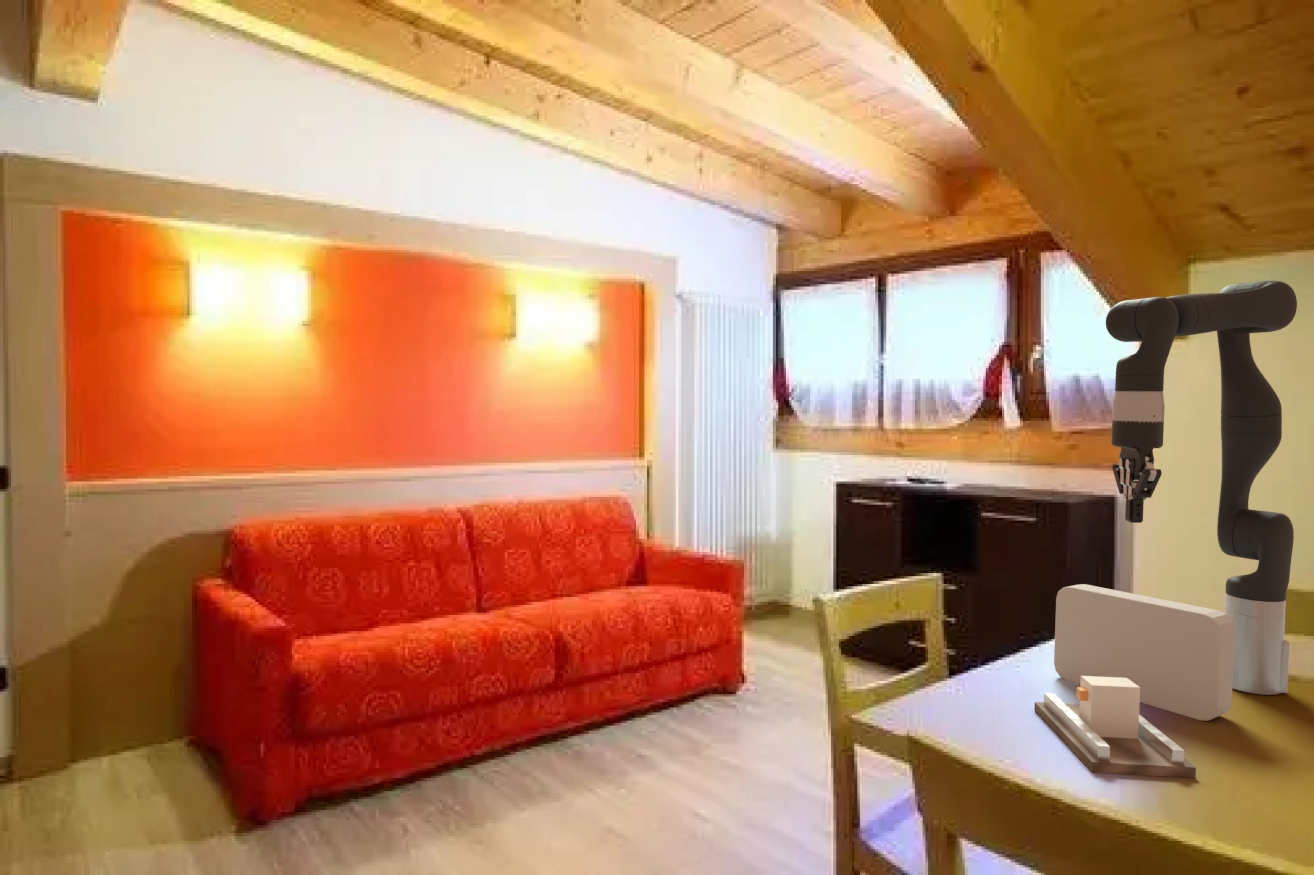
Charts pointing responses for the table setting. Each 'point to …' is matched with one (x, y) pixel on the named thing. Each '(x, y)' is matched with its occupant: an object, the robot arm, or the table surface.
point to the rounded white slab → (1147, 647)
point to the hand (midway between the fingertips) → (1133, 521)
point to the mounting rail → (1098, 744)
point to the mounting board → (1117, 752)
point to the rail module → (1109, 706)
